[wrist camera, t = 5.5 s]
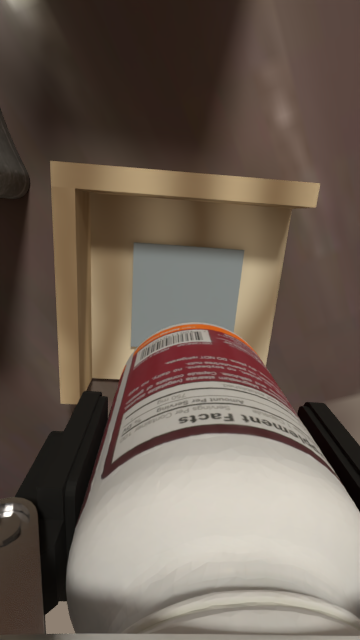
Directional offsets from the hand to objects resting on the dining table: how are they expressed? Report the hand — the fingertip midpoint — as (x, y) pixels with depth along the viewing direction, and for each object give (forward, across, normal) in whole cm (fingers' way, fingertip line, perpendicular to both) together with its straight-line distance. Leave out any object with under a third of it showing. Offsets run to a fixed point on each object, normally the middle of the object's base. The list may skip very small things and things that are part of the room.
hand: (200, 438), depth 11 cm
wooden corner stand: (+19, 0, -1) cm, 19 cm away
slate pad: (+18, 0, 0) cm, 18 cm away
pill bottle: (+4, 0, 0) cm, 4 cm away
